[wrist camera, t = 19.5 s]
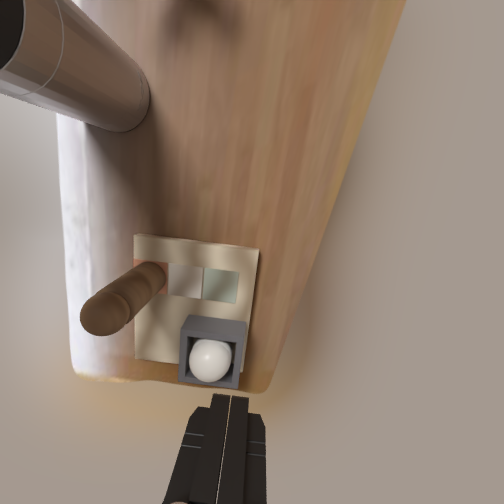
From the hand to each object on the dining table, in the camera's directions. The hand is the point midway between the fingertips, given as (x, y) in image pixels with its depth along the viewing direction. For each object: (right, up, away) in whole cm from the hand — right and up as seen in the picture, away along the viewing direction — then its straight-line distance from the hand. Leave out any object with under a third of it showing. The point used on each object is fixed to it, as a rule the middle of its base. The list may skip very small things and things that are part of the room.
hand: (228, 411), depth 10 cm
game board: (-8, -2, +29) cm, 30 cm away
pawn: (-14, +3, +26) cm, 30 cm away
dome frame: (-5, -8, +29) cm, 30 cm away
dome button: (-5, -8, +28) cm, 30 cm away
